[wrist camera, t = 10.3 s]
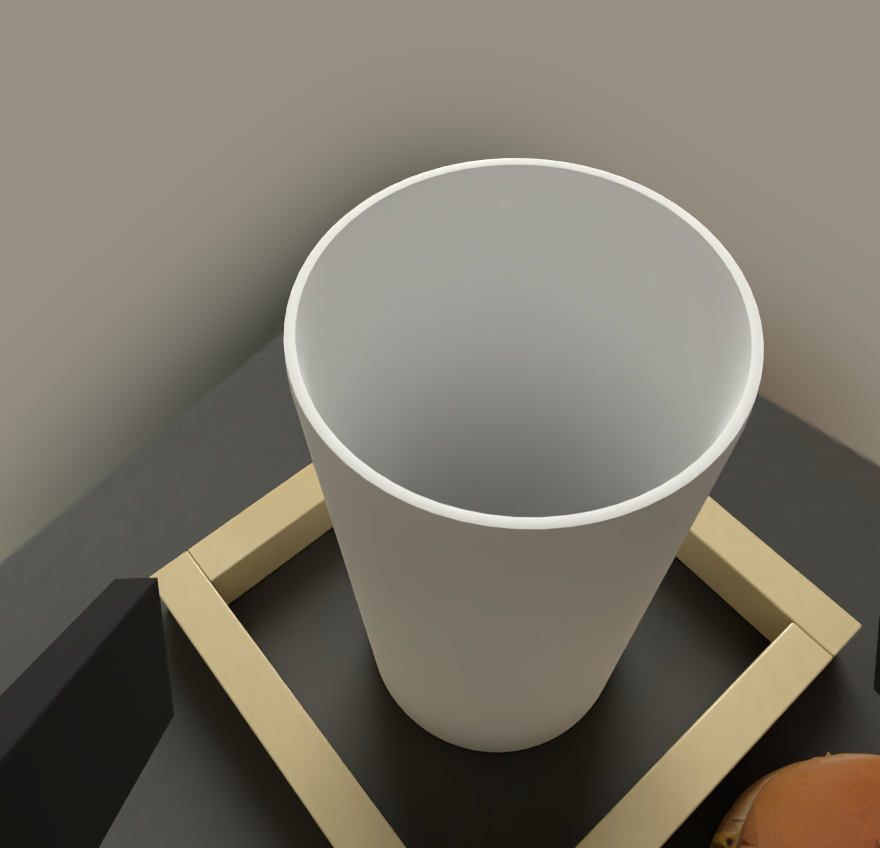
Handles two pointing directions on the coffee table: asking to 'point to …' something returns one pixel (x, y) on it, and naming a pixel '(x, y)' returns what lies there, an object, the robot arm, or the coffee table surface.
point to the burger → (808, 806)
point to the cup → (515, 426)
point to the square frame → (648, 801)
